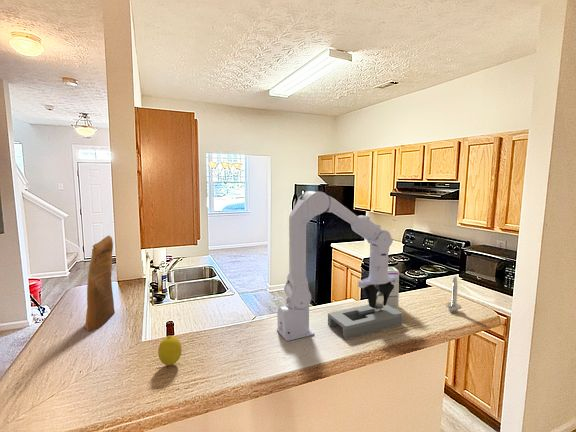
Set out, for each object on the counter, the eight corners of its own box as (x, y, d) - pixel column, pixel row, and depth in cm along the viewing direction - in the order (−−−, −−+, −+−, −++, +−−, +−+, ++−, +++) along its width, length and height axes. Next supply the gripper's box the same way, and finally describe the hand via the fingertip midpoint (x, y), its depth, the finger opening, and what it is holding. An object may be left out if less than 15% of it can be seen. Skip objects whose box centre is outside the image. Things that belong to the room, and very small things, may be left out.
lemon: (174, 356, 82) (173, 328, 81) (186, 364, 78) (185, 334, 77) (155, 366, 77) (153, 336, 77) (166, 375, 74) (164, 344, 73)
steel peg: (375, 323, 98) (376, 297, 97) (368, 318, 102) (368, 292, 101) (385, 321, 100) (386, 295, 99) (377, 316, 104) (378, 291, 103)
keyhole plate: (345, 339, 90) (345, 326, 89) (327, 324, 99) (327, 313, 99) (402, 324, 99) (402, 312, 98) (381, 312, 108) (381, 301, 107)
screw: (452, 314, 106) (442, 309, 110) (464, 313, 107) (454, 308, 111) (454, 278, 104) (444, 274, 109) (466, 277, 105) (456, 273, 110)
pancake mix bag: (124, 307, 114) (119, 234, 110) (101, 332, 95) (93, 244, 92) (105, 309, 113) (99, 234, 109) (77, 334, 94) (69, 245, 91)
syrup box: (398, 309, 110) (400, 270, 108) (382, 309, 110) (383, 270, 109) (393, 303, 116) (395, 266, 114) (378, 303, 116) (379, 266, 114)
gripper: (387, 260, 105) (386, 297, 107) (352, 265, 99) (352, 304, 101) (402, 265, 99) (401, 305, 100) (366, 270, 93) (365, 313, 95)
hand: (377, 305), depth 100 cm, fingers closed on steel peg, 4 cm apart
